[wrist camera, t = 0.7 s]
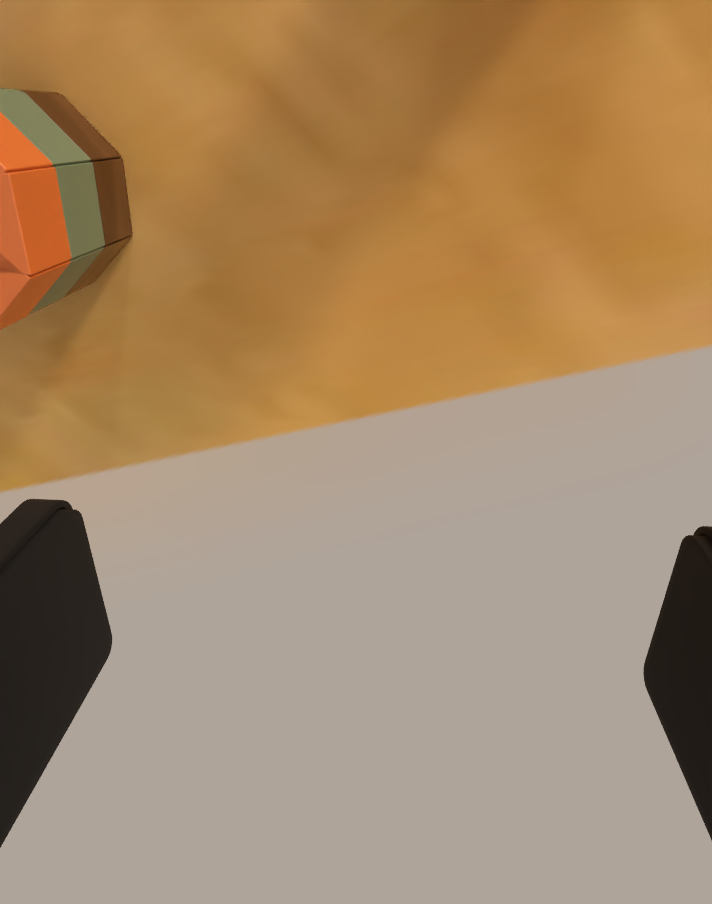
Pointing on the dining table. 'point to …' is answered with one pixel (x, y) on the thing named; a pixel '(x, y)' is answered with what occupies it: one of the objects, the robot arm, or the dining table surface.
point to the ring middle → (62, 187)
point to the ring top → (28, 225)
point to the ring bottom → (106, 178)
